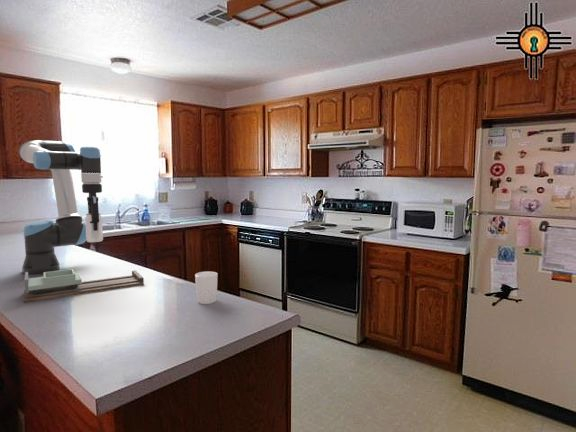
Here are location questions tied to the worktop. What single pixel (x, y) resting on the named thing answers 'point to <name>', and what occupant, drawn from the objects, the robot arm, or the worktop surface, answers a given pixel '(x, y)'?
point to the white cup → (206, 287)
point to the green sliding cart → (52, 280)
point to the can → (89, 229)
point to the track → (87, 287)
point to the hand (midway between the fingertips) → (94, 236)
